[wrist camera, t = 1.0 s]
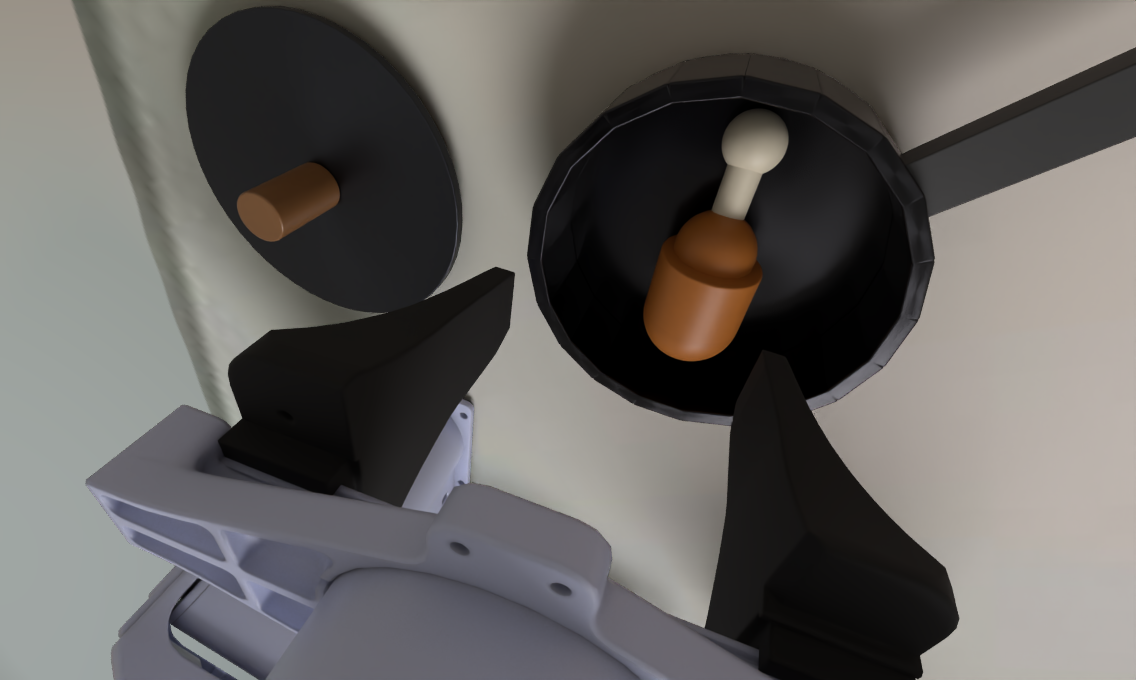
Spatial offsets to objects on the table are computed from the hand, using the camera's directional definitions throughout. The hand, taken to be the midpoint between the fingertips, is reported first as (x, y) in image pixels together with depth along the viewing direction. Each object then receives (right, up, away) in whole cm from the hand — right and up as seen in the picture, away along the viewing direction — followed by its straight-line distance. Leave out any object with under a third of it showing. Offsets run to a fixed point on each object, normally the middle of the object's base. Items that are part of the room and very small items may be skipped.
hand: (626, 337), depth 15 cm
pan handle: (+12, +6, -1) cm, 13 cm away
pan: (+4, +4, +6) cm, 9 cm away
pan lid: (-13, +7, +10) cm, 18 cm away
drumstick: (+4, +4, +6) cm, 8 cm away
